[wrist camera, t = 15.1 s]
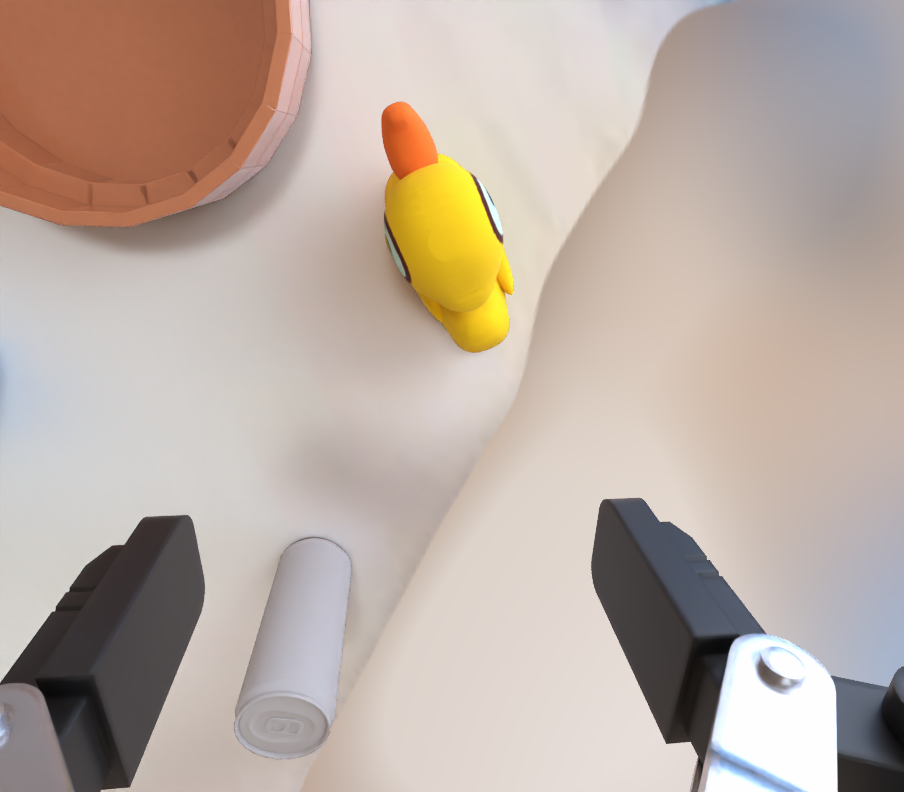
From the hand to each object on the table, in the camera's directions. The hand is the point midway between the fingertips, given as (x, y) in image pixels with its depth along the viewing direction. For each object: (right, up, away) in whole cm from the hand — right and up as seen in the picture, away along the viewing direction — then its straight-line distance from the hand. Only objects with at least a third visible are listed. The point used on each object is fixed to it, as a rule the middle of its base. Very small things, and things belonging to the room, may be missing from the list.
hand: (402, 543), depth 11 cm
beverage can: (-8, -8, +27) cm, 29 cm away
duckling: (0, +12, +19) cm, 22 cm away
